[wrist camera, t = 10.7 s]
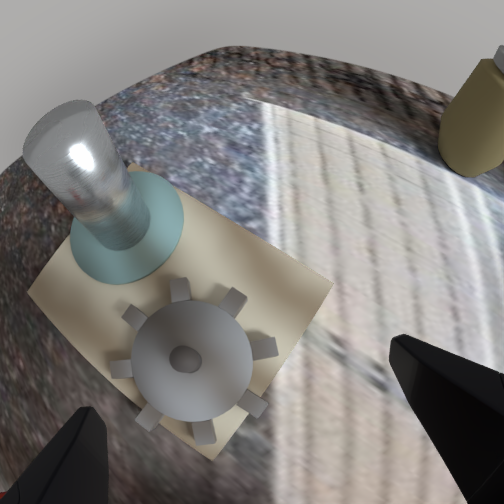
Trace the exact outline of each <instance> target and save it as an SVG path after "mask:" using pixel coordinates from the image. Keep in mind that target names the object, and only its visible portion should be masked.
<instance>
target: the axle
mask: <svg viewBox="0 0 504 504" xmlns="http://www.w3.org/2000/svg"><path fill="white" fill-rule="evenodd" d="M23 158H24V160H25V162H26V163H27V164H28V165H29V167H30V168H31V169H32V170H33V171H34V172H35V174H36V175H37V176H38V177H39V178H40V179H41V181H42V182H43V183H44V184H45V185H46V186H47V187H48V188H49V190H50V191H51V192H52V193H53V194H54V195H55V196H56V197H57V198H58V200H59V201H60V202H61V203H62V204H63V205H64V206H65V207H66V208H67V209H68V210H69V211H70V213H71V214H72V215H73V216H74V217H75V218H76V219H77V220H78V221H79V222H80V223H81V224H82V225H83V226H84V227H85V228H86V229H87V230H88V231H89V232H90V233H91V234H92V235H93V236H94V237H95V238H96V239H97V240H98V241H99V242H100V243H101V244H102V245H103V246H104V247H105V248H107V249H109V250H112V251H123V250H127V249H130V248H132V247H133V246H135V245H136V244H138V243H139V242H140V241H141V240H142V239H143V238H144V236H145V235H146V233H147V231H148V229H149V226H150V221H151V215H150V211H149V209H148V207H147V205H146V203H145V201H144V200H143V198H142V196H141V194H140V192H139V191H138V189H137V187H136V185H135V183H134V181H133V180H132V178H131V176H130V174H129V172H128V170H127V168H126V167H125V165H124V163H123V161H122V159H121V157H120V155H119V153H118V151H117V149H116V148H115V146H114V144H113V142H112V140H111V138H110V136H109V134H108V132H107V130H106V128H105V126H104V124H103V122H102V120H101V118H100V116H99V114H98V112H97V110H96V108H95V106H94V105H93V104H92V103H91V102H89V101H86V100H74V101H70V102H67V103H64V104H62V105H59V106H58V107H56V108H54V109H53V110H51V111H50V112H48V113H47V114H46V115H44V116H43V117H42V118H41V119H40V120H39V121H38V122H37V123H36V124H35V126H34V127H33V128H32V129H31V131H30V132H29V134H28V136H27V138H26V140H25V143H24V146H23Z"/></svg>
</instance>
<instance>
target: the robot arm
mask: <svg viewBox="0 0 504 504" xmlns="http://www.w3.org/2000/svg"><path fill="white" fill-rule="evenodd" d="M389 362H390V365H391V367H392V369H393V371H394V373H395V375H396V378H397V380H398V382H399V384H400V386H401V388H402V390H403V392H404V394H405V397H406V399H407V401H408V403H409V404H410V406H411V408H412V410H413V411H414V413H415V414H416V416H417V418H418V419H419V421H420V422H421V424H422V426H423V427H424V429H425V431H426V432H427V434H428V436H429V437H430V439H431V441H432V442H433V444H434V446H435V447H436V449H437V451H438V452H439V454H440V456H441V457H442V459H443V461H444V463H445V464H446V466H447V468H448V469H449V471H450V473H451V475H452V476H453V478H454V480H455V482H456V483H457V485H458V487H459V489H460V491H461V492H462V494H463V496H464V498H465V500H466V501H467V504H504V374H503V373H499V372H498V371H495V370H493V369H490V368H488V367H485V366H483V365H480V364H478V363H475V362H473V361H470V360H468V359H465V358H463V357H460V356H458V355H455V354H453V353H450V352H448V351H445V350H443V349H441V348H438V347H436V346H433V345H431V344H428V343H426V342H423V341H421V340H419V339H416V338H414V337H411V336H409V335H406V334H401V335H398V336H396V337H393V338H392V340H391V344H390V353H389ZM108 479H109V467H108V450H107V429H106V425H105V423H104V421H103V420H102V418H101V417H100V416H99V414H98V413H97V412H96V410H95V409H94V408H93V407H91V406H86V407H80V408H79V409H78V410H77V411H76V412H75V413H74V414H73V415H72V416H71V418H70V419H69V420H68V421H67V422H66V423H65V424H64V426H63V427H62V428H61V429H60V430H59V431H58V433H57V434H56V435H55V436H54V437H53V438H52V439H51V441H50V442H49V443H48V444H47V445H46V446H45V448H44V449H43V450H42V451H41V452H40V453H39V455H38V456H37V457H36V458H35V459H34V460H33V462H32V463H31V464H30V465H29V466H28V468H27V469H26V470H25V471H24V472H23V473H22V475H21V476H20V477H19V478H18V481H16V482H15V483H14V484H13V485H12V487H11V488H10V489H9V490H8V491H7V492H6V493H5V495H4V496H3V497H2V498H1V499H0V504H108Z"/></svg>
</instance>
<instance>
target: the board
mask: <svg viewBox="0 0 504 504" xmlns="http://www.w3.org/2000/svg"><path fill="white" fill-rule="evenodd" d="M127 170H128V172H129V174H130V176H131V178H132V180H133V181H134V183H135V185H136V187H137V189H138V191H139V192H140V194H141V196H142V198H143V200H144V201H145V203H146V205H147V207H148V209H149V211H150V215H151V221H150V226H149V229H148V231H147V233H146V235H145V236H144V238H143V239H142V240H141V241H140V242H139V243H138V244H136V245H135V246H133V247H132V248H130V249H127V250H123V251H112V250H109V249H107V248H105V247H104V246H103V245H102V244H101V243H100V242H99V241H98V240H97V239H96V238H95V237H94V236H93V235H92V234H91V233H90V232H89V231H88V230H87V229H86V228H85V227H84V226H83V225H82V224H81V223H80V222H79V221H78V220H77V219H76V218H75V217H74V219H73V222H72V226H71V232H70V234H69V235H68V237H67V238H66V239H65V240H64V242H63V243H62V244H61V246H60V247H59V248H58V249H57V251H56V252H55V253H54V255H53V256H52V257H51V259H50V260H49V262H48V263H47V264H46V266H45V267H44V268H43V270H42V271H41V273H40V274H39V275H38V277H37V278H36V280H35V281H34V283H33V284H32V286H31V287H30V289H29V290H28V291H27V293H28V294H29V296H30V297H31V298H32V299H33V301H34V302H35V303H36V304H37V305H38V307H39V308H40V309H41V310H42V311H43V313H44V314H45V315H46V316H47V317H48V318H49V320H50V321H51V322H52V323H53V324H54V325H55V326H56V328H57V329H58V330H59V331H60V332H61V333H62V334H63V335H64V336H65V337H66V338H67V340H68V341H69V342H70V343H71V344H72V345H73V346H74V347H75V348H76V349H77V350H78V351H79V352H80V353H81V354H82V355H83V356H84V357H85V358H86V359H87V360H88V361H89V362H90V363H91V364H92V365H93V366H94V367H95V368H96V369H97V370H98V371H99V372H100V373H101V374H102V375H103V376H104V377H106V378H107V379H108V380H109V381H110V382H111V383H112V384H113V385H114V386H115V387H116V388H118V389H119V390H120V391H121V392H122V393H123V394H124V395H126V396H127V397H128V398H129V399H130V400H131V401H133V402H134V403H135V404H136V405H137V406H138V407H140V408H141V409H142V411H141V412H140V413H139V415H138V416H137V418H136V419H135V421H136V422H138V423H139V424H140V425H141V426H143V427H144V428H145V429H146V430H148V431H151V430H154V429H155V428H156V426H157V425H158V424H159V423H160V424H161V425H162V426H164V427H165V428H166V429H168V430H169V431H170V432H172V433H173V434H174V435H176V436H177V437H178V438H180V439H181V440H183V441H184V442H185V443H187V444H188V445H190V446H191V447H192V448H194V449H195V450H197V451H198V452H200V453H201V454H203V455H204V456H206V457H207V458H209V459H210V460H212V461H213V460H214V458H215V457H216V456H217V455H218V453H219V452H220V451H221V449H222V448H223V447H224V446H225V444H226V443H227V442H228V440H229V439H230V438H231V436H232V435H233V434H234V433H235V431H236V430H237V429H238V427H239V426H240V425H241V423H242V422H243V420H244V419H245V418H246V416H247V415H248V414H251V415H253V416H254V417H256V418H257V419H258V418H259V416H260V415H261V414H262V412H263V411H264V409H265V408H266V407H267V405H268V404H269V403H268V402H267V401H265V400H264V399H262V398H261V396H262V394H263V393H264V391H265V390H266V388H267V387H268V386H269V384H270V383H271V381H272V380H273V378H274V377H275V375H276V374H277V373H278V371H279V370H280V368H281V367H282V365H283V364H284V362H285V361H286V359H287V358H288V356H289V355H290V353H291V352H292V350H293V349H294V347H295V345H296V344H297V342H298V341H299V339H300V338H301V336H302V335H303V333H304V332H305V330H306V328H307V327H308V325H309V324H310V322H311V320H312V319H313V317H314V316H315V314H316V312H317V311H318V309H319V308H320V306H321V304H322V303H323V301H324V299H325V298H326V296H327V294H328V293H329V291H330V289H331V288H332V286H333V284H334V283H332V282H331V281H329V280H328V279H326V278H324V277H323V276H321V275H319V274H318V273H316V272H315V271H313V270H311V269H310V268H308V267H306V266H305V265H303V264H302V263H300V262H298V261H297V260H295V259H293V258H292V257H290V256H289V255H287V254H285V253H284V252H282V251H280V250H279V249H277V248H276V247H274V246H272V245H271V244H269V243H267V242H266V241H264V240H262V239H261V238H259V237H257V236H256V235H254V234H253V233H251V232H249V231H248V230H246V229H244V228H243V227H241V226H239V225H238V224H236V223H234V222H233V221H231V220H229V219H228V218H226V217H224V216H223V215H221V214H219V213H218V212H216V211H214V210H213V209H211V208H209V207H208V206H206V205H204V204H203V203H201V202H199V201H198V200H196V199H194V198H193V197H191V196H189V195H188V194H186V193H184V192H183V191H181V190H179V189H177V188H176V187H174V186H172V185H171V184H170V183H169V182H168V181H167V180H165V179H164V178H162V177H160V176H158V175H156V174H153V173H150V172H149V171H147V170H145V169H144V168H142V167H140V166H138V165H137V164H135V163H133V162H132V163H131V164H130V165H129V166H128V168H127Z"/></svg>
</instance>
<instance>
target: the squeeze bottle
mask: <svg viewBox="0 0 504 504" xmlns="http://www.w3.org/2000/svg"><path fill="white" fill-rule="evenodd" d="M438 150H439V152H440V154H441V157H442V159H443V160H444V161H445V162H446V163H447V165H448V166H449V167H450V168H451V169H453V170H454V171H455V172H457V173H458V174H460V175H462V176H465V177H476V176H478V175H480V174H482V173H484V172H487V171H489V170H491V169H493V168H495V167H497V166H498V165H500V164H501V163H502V161H503V160H504V46H503V45H500V46H499V48H498V50H497V52H496V54H495V56H494V58H493V59H481V60H480V62H479V63H478V65H477V66H476V68H475V69H474V71H473V72H472V73H471V75H470V76H469V78H468V79H467V81H466V82H465V83H464V85H463V86H462V88H461V89H460V90H459V92H458V93H457V95H456V96H455V97H454V99H453V100H452V101H451V103H450V104H449V105H448V107H447V108H446V110H445V111H444V113H443V115H442V116H441V123H440V130H439V137H438Z"/></svg>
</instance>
